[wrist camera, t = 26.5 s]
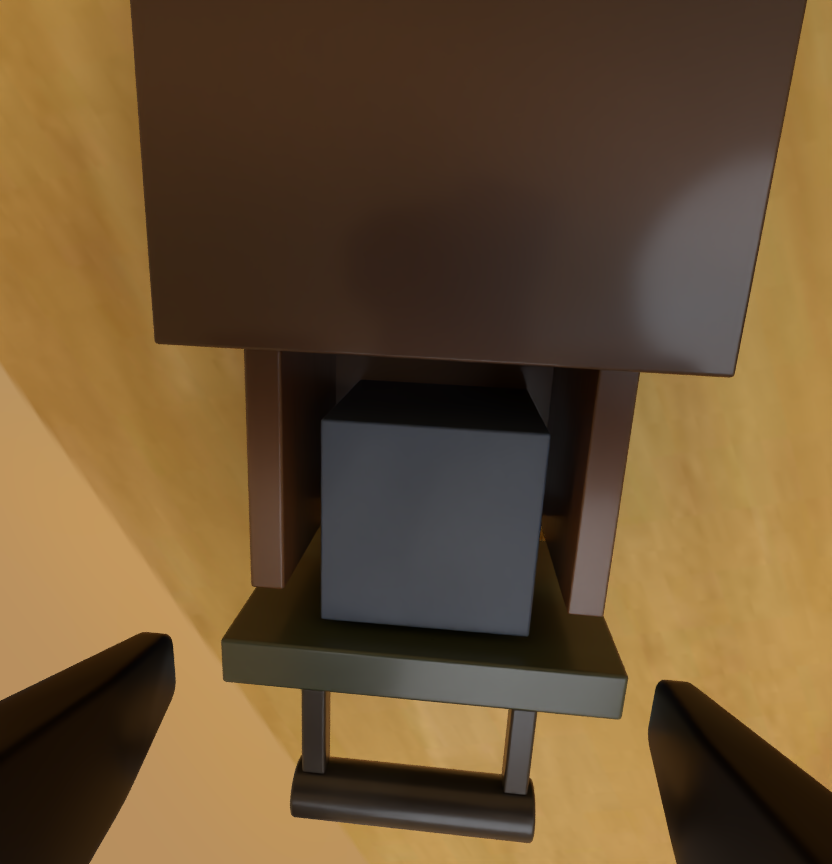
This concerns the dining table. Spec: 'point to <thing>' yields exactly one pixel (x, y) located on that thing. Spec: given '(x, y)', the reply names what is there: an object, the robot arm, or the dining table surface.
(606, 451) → the drawer
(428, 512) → the block
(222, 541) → the dining table surface
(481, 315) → the cabinet
